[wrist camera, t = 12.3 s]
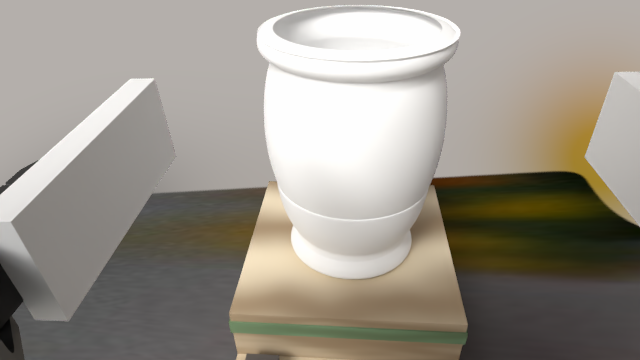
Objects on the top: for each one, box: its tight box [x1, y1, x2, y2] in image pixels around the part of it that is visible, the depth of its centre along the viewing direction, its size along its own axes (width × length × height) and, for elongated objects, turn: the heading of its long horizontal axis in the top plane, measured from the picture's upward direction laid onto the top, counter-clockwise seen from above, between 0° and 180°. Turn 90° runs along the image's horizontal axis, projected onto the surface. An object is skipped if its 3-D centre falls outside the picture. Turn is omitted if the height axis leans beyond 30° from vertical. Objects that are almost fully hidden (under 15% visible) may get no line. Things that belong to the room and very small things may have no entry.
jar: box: [257, 5, 460, 279], centre depth 27 cm, size 11×10×15 cm
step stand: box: [229, 181, 468, 360], centre depth 32 cm, size 19×14×9 cm
